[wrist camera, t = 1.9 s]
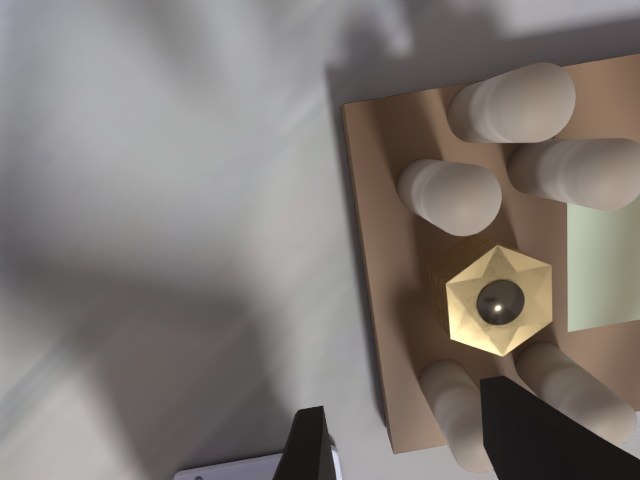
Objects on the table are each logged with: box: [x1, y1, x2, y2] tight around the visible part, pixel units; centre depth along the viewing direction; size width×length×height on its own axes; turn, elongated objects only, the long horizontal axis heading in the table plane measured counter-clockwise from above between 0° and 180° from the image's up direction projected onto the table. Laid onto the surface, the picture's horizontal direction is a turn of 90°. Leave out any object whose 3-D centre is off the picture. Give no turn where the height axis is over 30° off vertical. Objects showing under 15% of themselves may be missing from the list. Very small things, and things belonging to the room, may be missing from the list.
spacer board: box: [341, 54, 640, 473], centre depth 17 cm, size 15×18×6 cm
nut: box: [427, 234, 552, 356], centre depth 17 cm, size 4×5×2 cm
